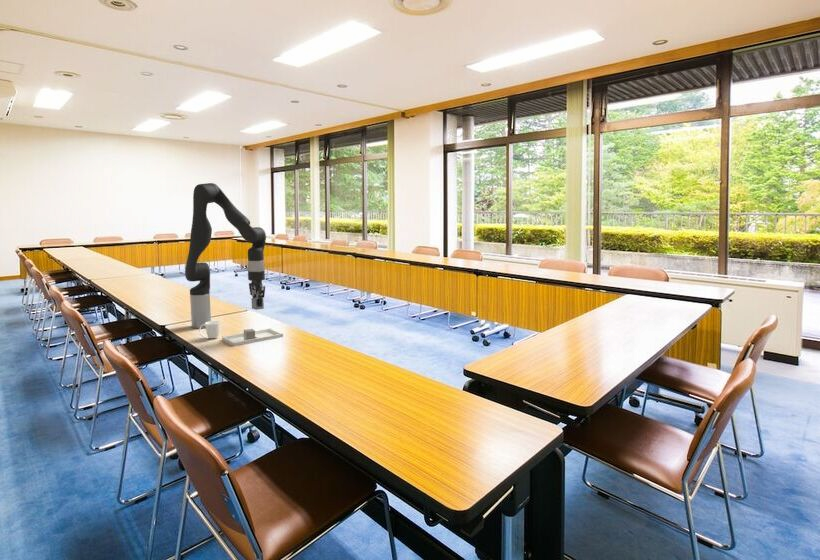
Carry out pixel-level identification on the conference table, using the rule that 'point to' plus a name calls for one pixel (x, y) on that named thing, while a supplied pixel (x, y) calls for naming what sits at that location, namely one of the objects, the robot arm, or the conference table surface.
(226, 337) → the divided tray
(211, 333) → the cup
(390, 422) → the conference table surface
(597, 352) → the conference table surface
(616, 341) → the conference table surface
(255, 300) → the matte grey cube
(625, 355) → the conference table surface
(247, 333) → the stone
